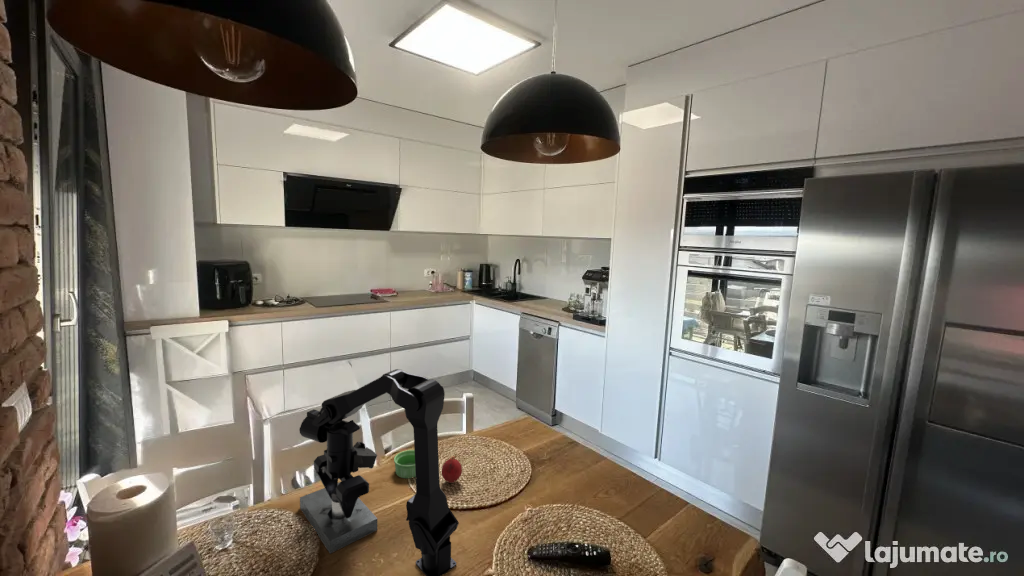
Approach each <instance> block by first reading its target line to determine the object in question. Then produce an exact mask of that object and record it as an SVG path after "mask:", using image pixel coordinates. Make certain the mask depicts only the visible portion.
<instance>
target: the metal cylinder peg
mask: <svg viewBox="0 0 1024 576" xmlns="http://www.w3.org/2000/svg"><path fill="white" fill-rule="evenodd" d="M336 496H337V493H336V490H334V491H333V492H332V519H334V520H341V519H343V518H346V517H345V515H344V513H343V511H342V508H341V506H340V504H339V502H338V500H337V497H336Z"/></svg>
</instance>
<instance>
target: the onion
mask: <svg viewBox="0 0 1024 576" xmlns="http://www.w3.org/2000/svg"><path fill="white" fill-rule="evenodd" d="M462 466H463V465H462V464H461V462H460V461H459V460H457V458H455V456H454V455H451V456H450V457H449V459H447V460H445V462H444V463H443V465H442V467H441V476H442V478H443V480H444V481H446V482H447V483H450V484H453V483H456V482H457V481H458V480H459V479H460V478H461V476H462V473H463V467H462Z"/></svg>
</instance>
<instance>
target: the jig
mask: <svg viewBox="0 0 1024 576" xmlns="http://www.w3.org/2000/svg"><path fill="white" fill-rule="evenodd" d="M340 482H342V481H341V480H340V481H338V484H339V483H340ZM337 486H338V485H337ZM299 509H300V511H301V512H302V514H303V515H304V517H305V518H306V520H307V521H308V523H309V522H310V523H309V524H310V526H311V525H312V526H313V527H312V526H311V527H312V529H313V528H314V529H315V530H314V529H313V530H314V532H315V531H316V532H317V533H316V532H315V533H316V535H317V534H318V535H317V537H318V538H319V540H320V542H321V543H322V544H323V546H324V547H325V548H326V550H327V551H328V553H329V555H330V554H332V553H335V552H336V551H338V550H341V549H342V548H344V547H346V546H349V545H350V544H353V543H354V542H357V541H358V540H361V539H362V538H364V537H367V536H369V535H370V534H373V533H375V532H377V531H378V517H377V516H376V515H375V514H374V512H373V511H371V509H370V508H369V507H368V506H367V505H366V504H365V503H364V502H363V500H362V499H361V498H360V497H358V499H357V501H356V504H355V507H354V509H353V512H352V515H351V517H349V518H343V519H341V520H334V519H332V499H331V498H330V496H329V495H328V493H327V491H326V489H325V487H323V488H320V489H318V490H316V491H314V492H311V493H308V494H306V495H305V494H304V495H303V496H299Z"/></svg>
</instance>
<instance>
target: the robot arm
mask: <svg viewBox="0 0 1024 576" xmlns="http://www.w3.org/2000/svg"><path fill="white" fill-rule="evenodd" d="M385 394H388V395H390V397H391V399H392V400H393V403H394V404H395V405H397V406H399V407H401V408H403V409H404V413H405V417H406V419H407V420H408V422H409V423H410V424H411V426H412V428H413V429H412V430H413V444H414V445H413V446H414V447H413V450H414V451H415V474H416V477H415V494H413V496H411V497H410V498H409V499H408V500H406V503H405V505H406V506H405V507H406V514H407V515H406V519H405V521H406V522H408V526H409V530H410V531H411V536H412V539H413V540H412V541H413V543H414V547H415V548H416V549H417V550H419V551H420V552H421V557H420V558H418V559H416V560H415V566H416V567H417V568H418V569H419V570H420V571H421V572H422V573H423V574H424V576H443V575H445V574H446V573H448V572H450V571H451V570H452V569H454V568H456V567H457V562H456V560H454V559H453V558H452V542H451V535H453V533H454V532H456V530H457V528H458V526H459V524H460V523H459V520H458V519H457V517H456V516H455V514H454V513H453V511H452V510H451V509H450V507H449V504H448V500H447V499H448V498H447V495H446V493H445V492H444V491H443V490H442V488H441V486H440V483H441V482H440V464H439V463H440V462H439V458H440V457H439V439H438V438H439V435H438V434H439V433H438V422H439V421H440V418H441V414H442V412H443V409H444V402H445V388H444V386H442V385H441V384H440V382H438V381H437V380H435V379H433V378H432V379H431V378H427V377H426V376H424V375H420V374H414V373H409V372H407V371H405V370H403V369H398V368H397V369H393V370H390V371H389V372H386V373H384V374H382V375H381V376H380V377H378V378H376V379H375V380H373V381H371V382H369V383H367V384H364V385H362V386H361V387H359V388H357V389H352V390H348V391H344V392H342V393H340V394H338V395H334V396H332V397H330V398H328V399H325V400H323V402H322V403H321V408H320V410H318V409H311V410H309V411H307V412H306V417H304V419H303V420H302V422H301V424H300V427H299V435H301V437H302V438H306V439H308V440H312V441H314V442H317V443H319V444H320V443H326V449H323V454H321V455H318V456H317V457H316V458H315V459H314V460H313V469H314V470H315V473H316V475H317V476H318V479H319V480H320V481H321V484H322V485H323V488H325V489H326V491H327V493H328V495H329V496H330V498H331V499H332V492H333V491H334V490H336V493H337V496H336V497H337V500H338V502H339V504H340V506H341V508H342V511H343V513H344V515H345V517H346V518H349V517H351V515H352V512H353V509H354V507H355V504H356V501H357V499H358V497H359V498H360V497H362V496H364V495H367V494H369V492H370V482H368V481H367V479H365V478H364V477H363V476H362V475H360V474H358V475H355V476H353V475H352V473H354V474H355V473H357V472H359V468H360V469H363V468H364V469H366V468H367V469H373V468H374V465H375V463H376V460H377V457H378V454H377V453H376V452H375V451H374V450H372V449H371V448H369V447H367V446H366V444H365V443H364V442H363V441H356V442H355V444H354V433H356V432H357V431H359V430H361V426H360V425H359V424H357V423H356V422H355V421H354V419H352V420H349V421H347V420H345V419H347V418H349V417H351V416H353V415H355V414H356V413H358V411H360V410H361V409H362V408H363V407H364V406H365V405H366V404H367V403H369V402H371V401H373V400H375V399H377V398H379V397H381V396H382V395H385ZM341 481H342V482H341ZM339 482H340V483H339ZM338 483H339V484H338ZM337 485H338V486H337Z"/></svg>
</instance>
